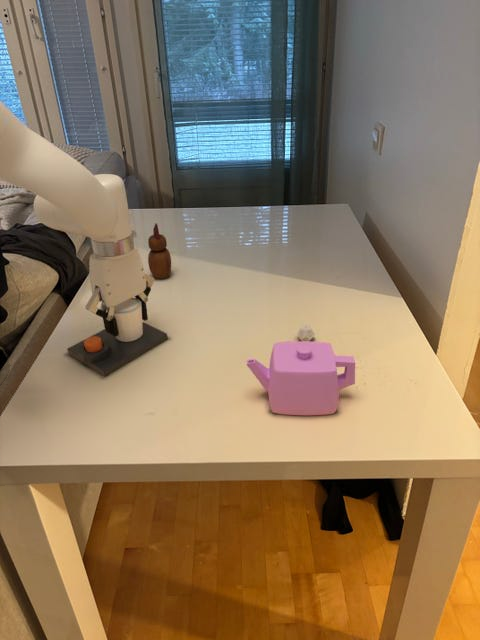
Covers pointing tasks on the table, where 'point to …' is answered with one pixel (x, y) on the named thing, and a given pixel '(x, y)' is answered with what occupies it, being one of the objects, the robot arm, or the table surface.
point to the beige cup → (129, 320)
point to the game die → (305, 333)
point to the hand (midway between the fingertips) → (127, 325)
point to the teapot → (304, 377)
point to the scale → (117, 350)
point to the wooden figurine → (159, 255)
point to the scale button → (93, 344)
